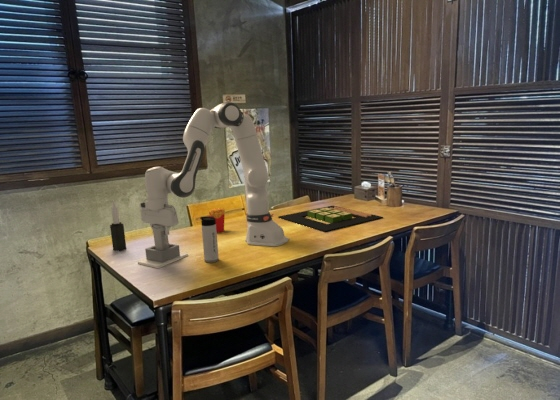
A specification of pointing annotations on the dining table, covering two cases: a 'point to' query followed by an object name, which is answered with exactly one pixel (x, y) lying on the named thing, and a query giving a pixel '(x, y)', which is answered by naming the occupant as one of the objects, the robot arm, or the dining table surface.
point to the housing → (162, 256)
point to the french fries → (218, 218)
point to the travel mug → (209, 239)
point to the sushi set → (330, 218)
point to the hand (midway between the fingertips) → (161, 233)
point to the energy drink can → (160, 237)
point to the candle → (117, 230)
